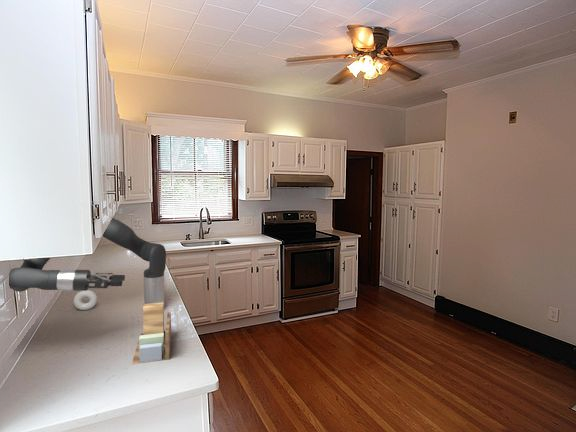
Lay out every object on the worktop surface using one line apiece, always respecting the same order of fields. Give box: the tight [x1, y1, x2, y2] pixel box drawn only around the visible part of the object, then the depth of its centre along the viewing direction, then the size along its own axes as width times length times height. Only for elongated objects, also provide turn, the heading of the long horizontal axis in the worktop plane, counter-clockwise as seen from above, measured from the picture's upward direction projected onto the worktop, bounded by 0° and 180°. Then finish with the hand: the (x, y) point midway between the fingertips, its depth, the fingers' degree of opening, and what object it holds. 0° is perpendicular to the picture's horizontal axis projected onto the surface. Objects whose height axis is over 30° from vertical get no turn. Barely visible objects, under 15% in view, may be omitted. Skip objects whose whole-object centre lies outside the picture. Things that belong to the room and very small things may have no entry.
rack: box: [131, 311, 172, 365], centre depth 124 cm, size 19×12×11 cm, turn 17°
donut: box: [73, 289, 98, 311], centre depth 164 cm, size 10×4×10 cm, turn 114°
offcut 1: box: [138, 333, 164, 358], centre depth 120 cm, size 3×8×7 cm, turn 107°
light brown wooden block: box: [142, 301, 165, 335], centre depth 128 cm, size 4×7×15 cm, turn 107°
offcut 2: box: [140, 343, 163, 363], centre depth 117 cm, size 2×7×5 cm, turn 107°
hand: (123, 280), depth 127 cm, fingers open, 8 cm apart
